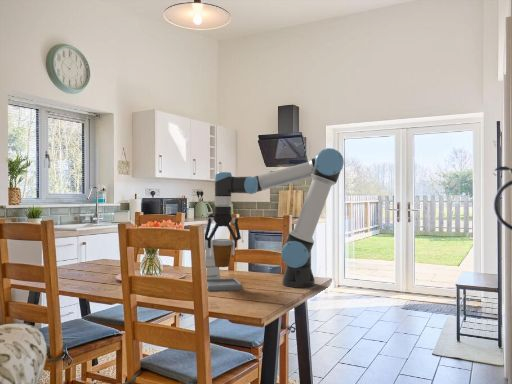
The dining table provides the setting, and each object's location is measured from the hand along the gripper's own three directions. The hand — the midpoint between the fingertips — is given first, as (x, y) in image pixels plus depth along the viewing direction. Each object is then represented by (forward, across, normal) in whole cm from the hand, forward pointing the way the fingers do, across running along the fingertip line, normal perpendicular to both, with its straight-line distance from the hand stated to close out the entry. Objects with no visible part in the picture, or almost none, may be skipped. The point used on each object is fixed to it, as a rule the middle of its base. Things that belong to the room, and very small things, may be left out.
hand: (222, 255), depth 200 cm
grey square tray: (+14, 0, 0) cm, 14 cm away
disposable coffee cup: (+5, 0, 0) cm, 5 cm away
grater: (+15, +4, -18) cm, 23 cm away
